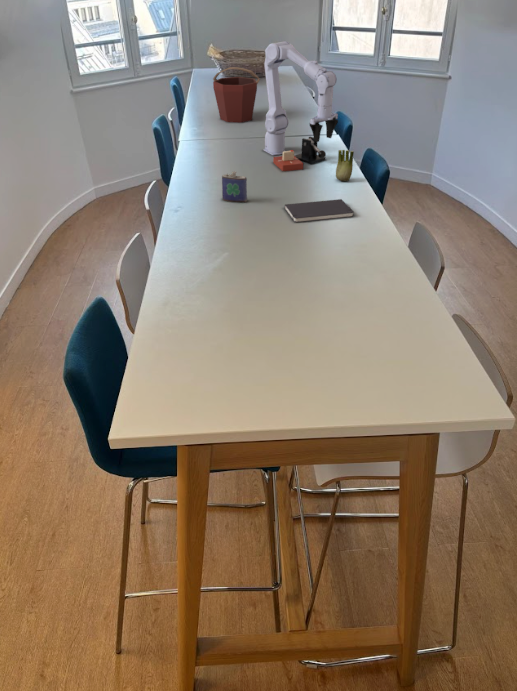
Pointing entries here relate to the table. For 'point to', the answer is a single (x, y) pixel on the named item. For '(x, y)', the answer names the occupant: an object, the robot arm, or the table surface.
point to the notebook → (318, 210)
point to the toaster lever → (320, 153)
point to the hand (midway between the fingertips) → (322, 139)
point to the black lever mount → (309, 152)
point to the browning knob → (288, 155)
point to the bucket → (235, 96)
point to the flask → (234, 188)
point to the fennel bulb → (344, 165)
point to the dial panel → (288, 164)
